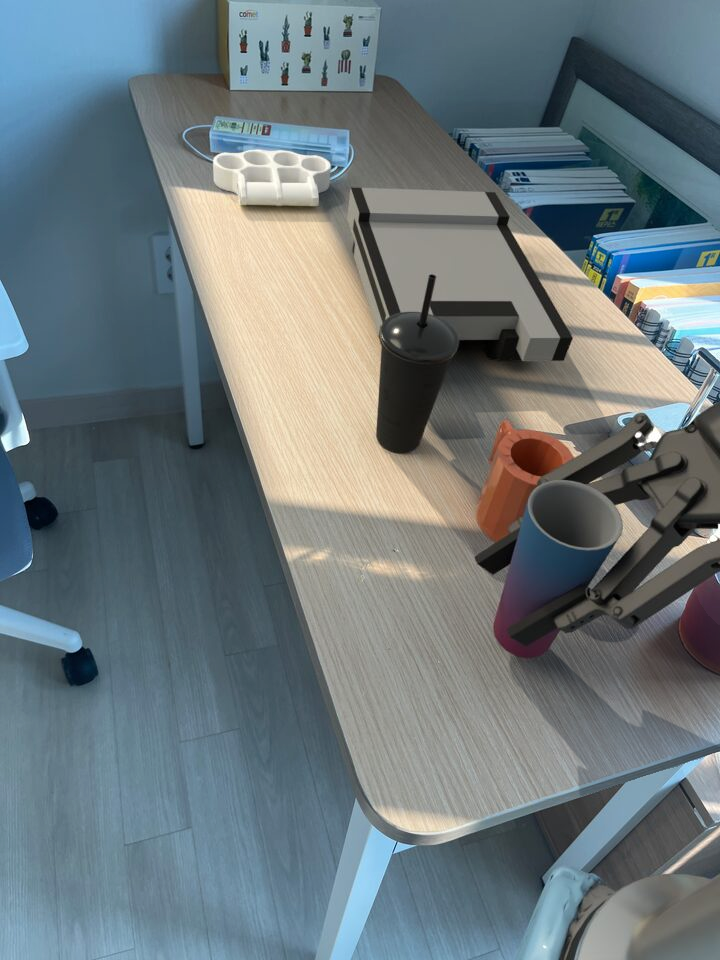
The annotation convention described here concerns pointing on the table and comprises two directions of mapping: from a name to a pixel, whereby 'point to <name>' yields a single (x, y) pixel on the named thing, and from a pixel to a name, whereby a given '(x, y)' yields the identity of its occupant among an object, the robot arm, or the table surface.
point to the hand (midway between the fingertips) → (499, 600)
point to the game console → (454, 269)
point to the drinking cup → (411, 373)
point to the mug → (515, 475)
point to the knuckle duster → (272, 177)
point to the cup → (554, 554)
